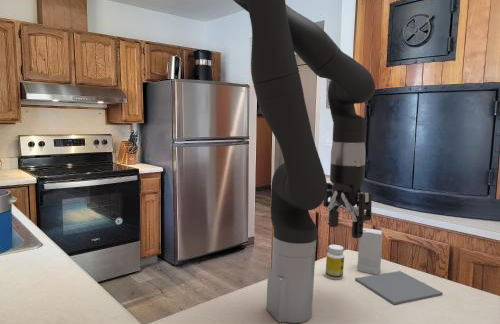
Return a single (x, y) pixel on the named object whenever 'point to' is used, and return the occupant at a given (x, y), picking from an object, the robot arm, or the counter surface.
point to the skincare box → (370, 251)
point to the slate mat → (398, 287)
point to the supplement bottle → (335, 262)
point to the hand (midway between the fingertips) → (344, 231)
